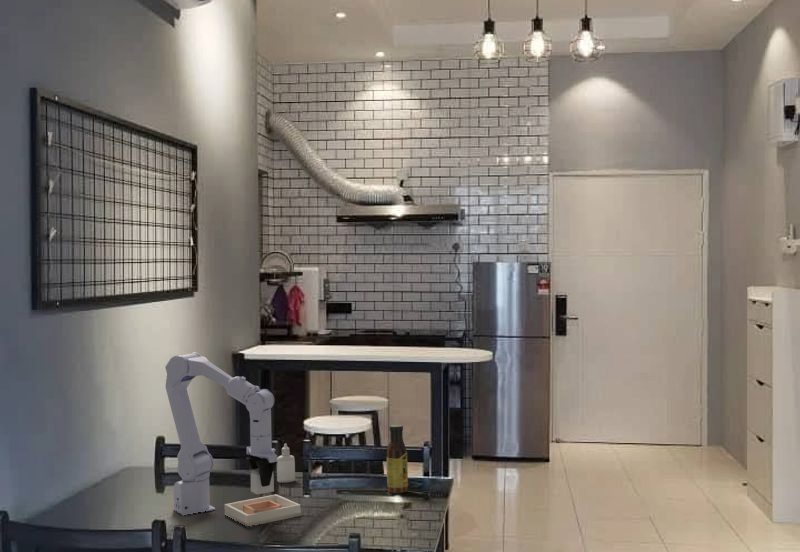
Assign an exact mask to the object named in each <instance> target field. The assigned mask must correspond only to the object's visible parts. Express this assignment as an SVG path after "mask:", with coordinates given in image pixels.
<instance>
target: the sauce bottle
mask: <svg viewBox="0 0 800 552" xmlns="http://www.w3.org/2000/svg"><path fill="white" fill-rule="evenodd" d="M403 431H404V425H402V424H391V425H389V433H390V434H389V435H390V438H389V439H390V441H389V443H388V445H387V447H386V482H387V483H386V487H387V492H388V493H389V494H395V495H396V494H404V493H406V492H408V486H409V484H408V483H409V481H408V480H409V478H408V476H409V475H408V468H409V467H408V451H407V448H406V444H405V442H404V437H403V434H404V432H403Z"/></svg>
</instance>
